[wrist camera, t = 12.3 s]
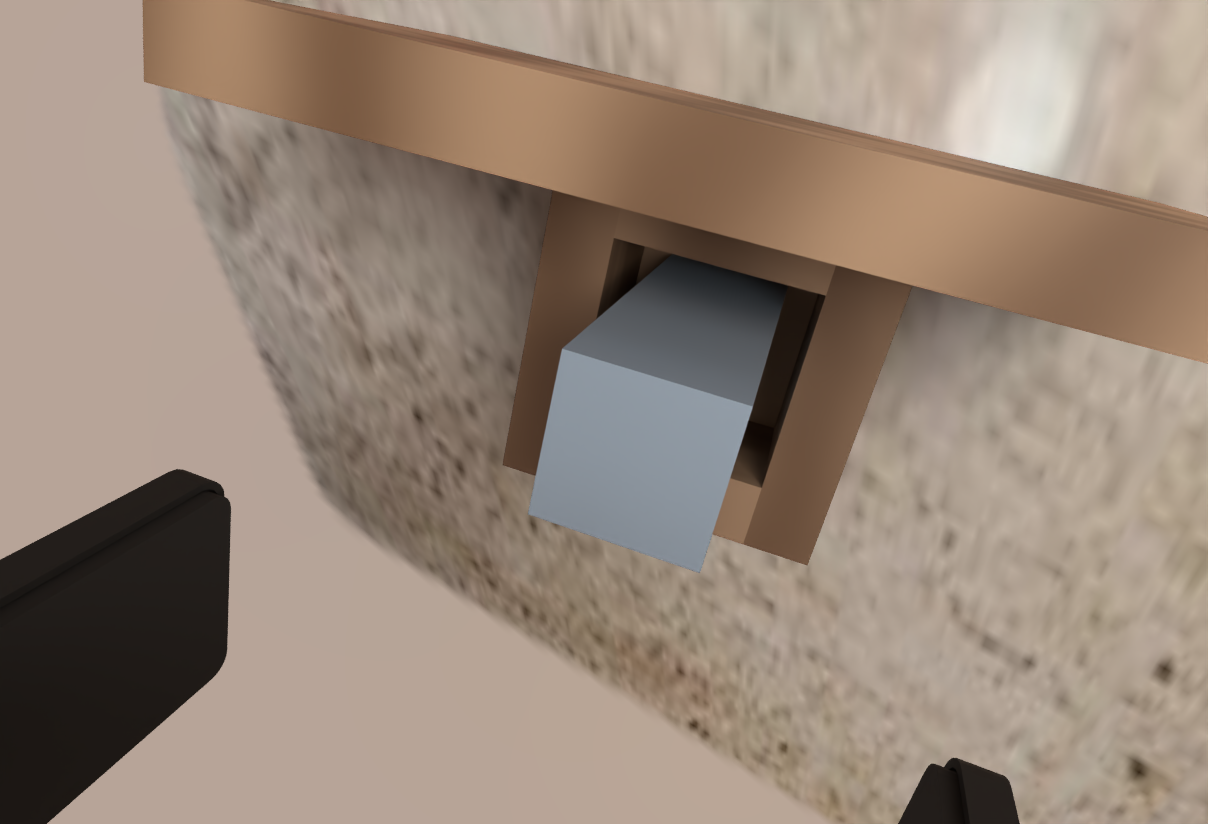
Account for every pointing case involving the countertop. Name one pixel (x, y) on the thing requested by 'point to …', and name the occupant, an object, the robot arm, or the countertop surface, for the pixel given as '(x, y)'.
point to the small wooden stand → (712, 219)
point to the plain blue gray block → (657, 410)
